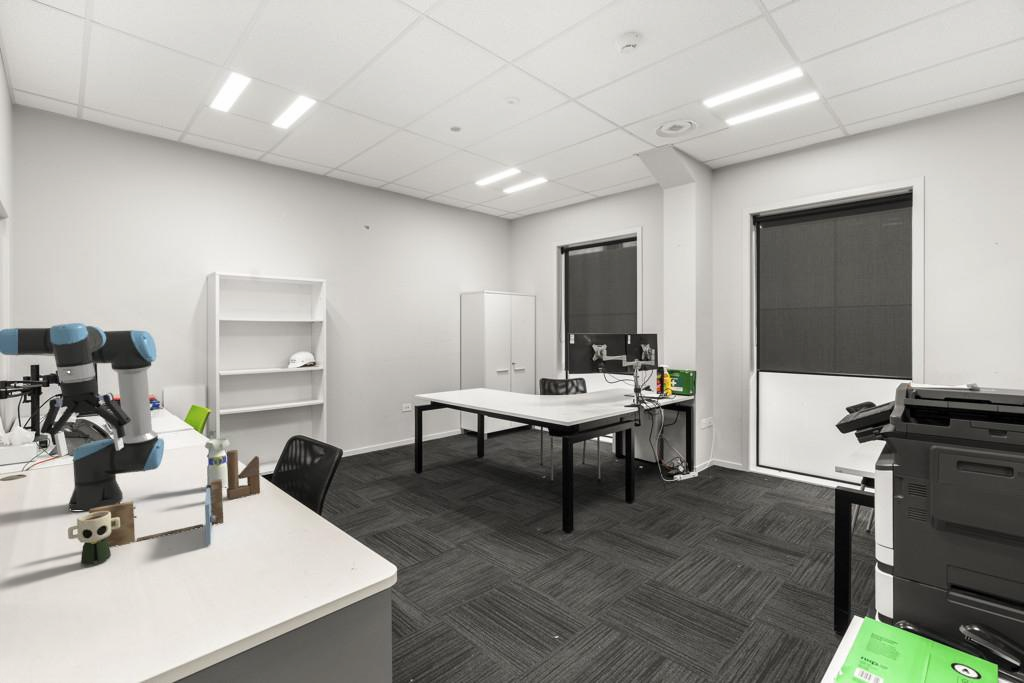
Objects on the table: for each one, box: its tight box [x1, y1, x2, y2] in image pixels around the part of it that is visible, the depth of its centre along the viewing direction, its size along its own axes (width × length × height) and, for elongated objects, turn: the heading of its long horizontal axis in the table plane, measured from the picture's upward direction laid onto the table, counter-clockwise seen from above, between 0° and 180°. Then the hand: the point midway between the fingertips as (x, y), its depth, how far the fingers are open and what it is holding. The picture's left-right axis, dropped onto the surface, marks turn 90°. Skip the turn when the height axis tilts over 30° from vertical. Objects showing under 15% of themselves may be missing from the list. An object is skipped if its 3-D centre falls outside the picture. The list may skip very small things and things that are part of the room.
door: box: [204, 488, 215, 546], centre depth 150 cm, size 18×2×12 cm, turn 31°
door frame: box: [88, 479, 224, 548], centre depth 151 cm, size 33×2×14 cm, turn 126°
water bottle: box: [204, 428, 230, 489], centre depth 196 cm, size 8×9×25 cm
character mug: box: [67, 511, 120, 566], centre depth 134 cm, size 11×7×13 cm, turn 130°
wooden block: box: [226, 449, 261, 500], centre depth 186 cm, size 4×11×18 cm, turn 134°
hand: (92, 452), depth 137 cm, fingers open, 13 cm apart
